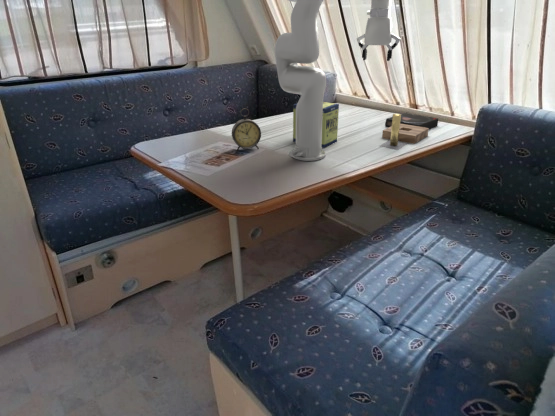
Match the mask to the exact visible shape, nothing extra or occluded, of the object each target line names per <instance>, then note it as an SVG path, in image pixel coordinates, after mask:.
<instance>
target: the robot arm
mask: <svg viewBox="0 0 555 416" xmlns="http://www.w3.org/2000/svg"><path fill="white" fill-rule="evenodd" d="M288 1H289V2H295V4H294V5H293V8H292V10H291V14H290V29H291V30H290V31H291V32H283V33H282V34H280V35H278V37H277V39H276V42H275V46H274V57H275V65H276V66H275V67H276V72H277V78H278V79H277V80H278V83H279V84H278V85H279V86H280V88H281V89H282V90H283V92H286V93H289V94H295V95H300V97H299V100H298V101H297V103H296V104H297V106H296V142H295V145H294V149H293V150H291V151H289V152H288V156H289V157H292V158H294V159H295V160H298V161H303V162H314V161H320V160H322V159H324V158H326V151H325V150H323V149H322V148H321V146H322V112H323V102H324V96H325V92H326V87H327V82H328V81H327V76H326V73H325V72H324V70H322V69H321V68H318V67H316V66H315V67H314V66H306V64H307V65H309V64H314V63H315V62H317V60H318V59H319V57H320V41H319V39H320V38H319V28H318V16H319V11H320V9H321V6H322V3H323V2H324V0H288ZM370 1H371V4H370V10H367V11H366V16H367V15H369V17H368V18H367V21H366V26H365V33H363V34H362V35H360V36H358V37H357V38H356V42H357V44H358V46H359V48H360V49H361V51H362V54H361V58H362V61H366V60H367V56H368V49H367V48H368V47H369V46H386V47H387V49H388V50H387V52H386V53H387V56H386V61H387V62H389V61H390V60H391V59H392V56H393V50H394V49H395V48H396V47H397V46H398V44H399V43H400V42H401V37H399V36H397V35H396V34H394V33H393V21H392V20H393V19H392V17H391V7H392V0H370ZM363 39H364V41H363V42H364V43H363V42H362V40H363ZM392 39H393V40H394V43H393V44H392ZM298 64H305V65H298Z"/></svg>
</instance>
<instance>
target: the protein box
mask: <svg viewBox="0 0 555 416" xmlns="http://www.w3.org/2000/svg"><path fill="white" fill-rule="evenodd" d="M292 106H293V108H292V109H293V110H292V114H293V115H292V117H293V119H292V124H293V125H292V129H293V131H292V132H293V133H292V142H293V143H296V106H297V103H294V104H293V105H292ZM339 111H340V104H339V103H335V102H334V103H333V102H327V101H326V102H325V101H323V112H322V146H321V149H325V148H327V147H329V146H331V145H333V143H334V144H336V143H337V142H338V132H339V131H338V130H339V129H338V128H339ZM335 142H336V143H335Z"/></svg>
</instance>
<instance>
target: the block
mask: <svg viewBox="0 0 555 416" xmlns="http://www.w3.org/2000/svg"><path fill="white" fill-rule="evenodd" d="M391 129H392V126H391V127H386V128H384V129H383V130H382V135H381V138H382V139H385V140H390V138H391ZM429 131H430V129H429V128H425V127H418V126H412V125H405V124H400V129H399V138H398V142H403V143H409V144H414V145H415V144H416V143H418V142H420V141H421V140H423V139H425V138H426V137H428V136H429Z"/></svg>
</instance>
